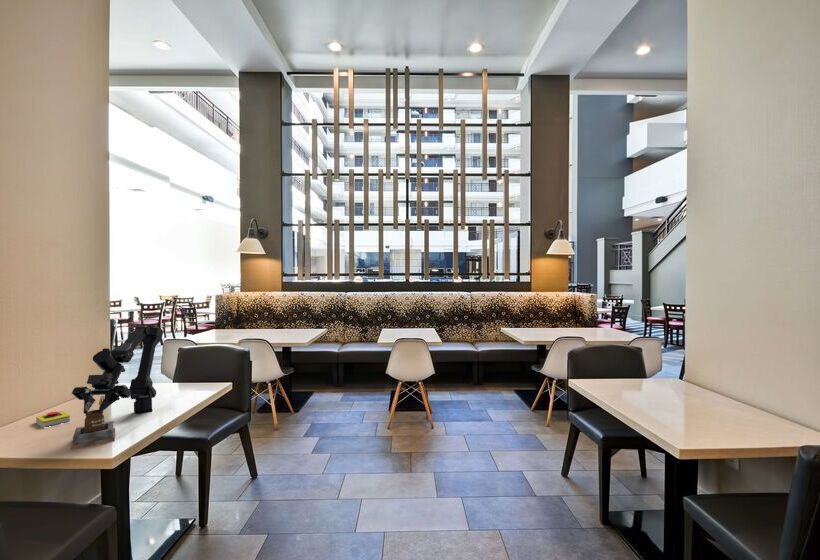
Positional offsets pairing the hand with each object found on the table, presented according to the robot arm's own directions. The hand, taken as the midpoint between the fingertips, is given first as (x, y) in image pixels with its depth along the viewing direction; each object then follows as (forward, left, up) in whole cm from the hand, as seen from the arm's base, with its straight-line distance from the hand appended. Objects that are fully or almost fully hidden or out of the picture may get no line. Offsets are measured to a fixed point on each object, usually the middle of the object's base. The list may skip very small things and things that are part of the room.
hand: (91, 413), depth 149 cm
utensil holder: (-1, -1, -7) cm, 7 cm away
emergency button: (+15, -37, -11) cm, 41 cm away
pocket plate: (-1, -1, -11) cm, 11 cm away
